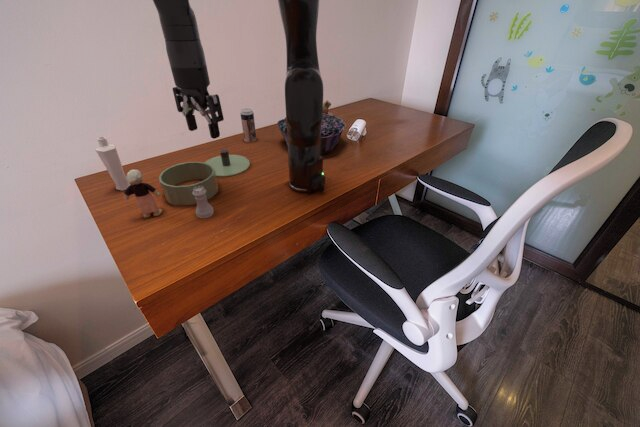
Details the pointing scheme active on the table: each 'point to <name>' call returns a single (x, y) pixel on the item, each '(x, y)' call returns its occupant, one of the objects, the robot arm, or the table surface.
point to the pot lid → (228, 164)
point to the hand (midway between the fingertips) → (204, 133)
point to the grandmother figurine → (142, 194)
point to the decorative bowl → (322, 131)
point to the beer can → (248, 125)
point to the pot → (186, 173)
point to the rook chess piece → (202, 203)
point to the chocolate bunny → (326, 107)
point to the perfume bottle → (112, 163)
